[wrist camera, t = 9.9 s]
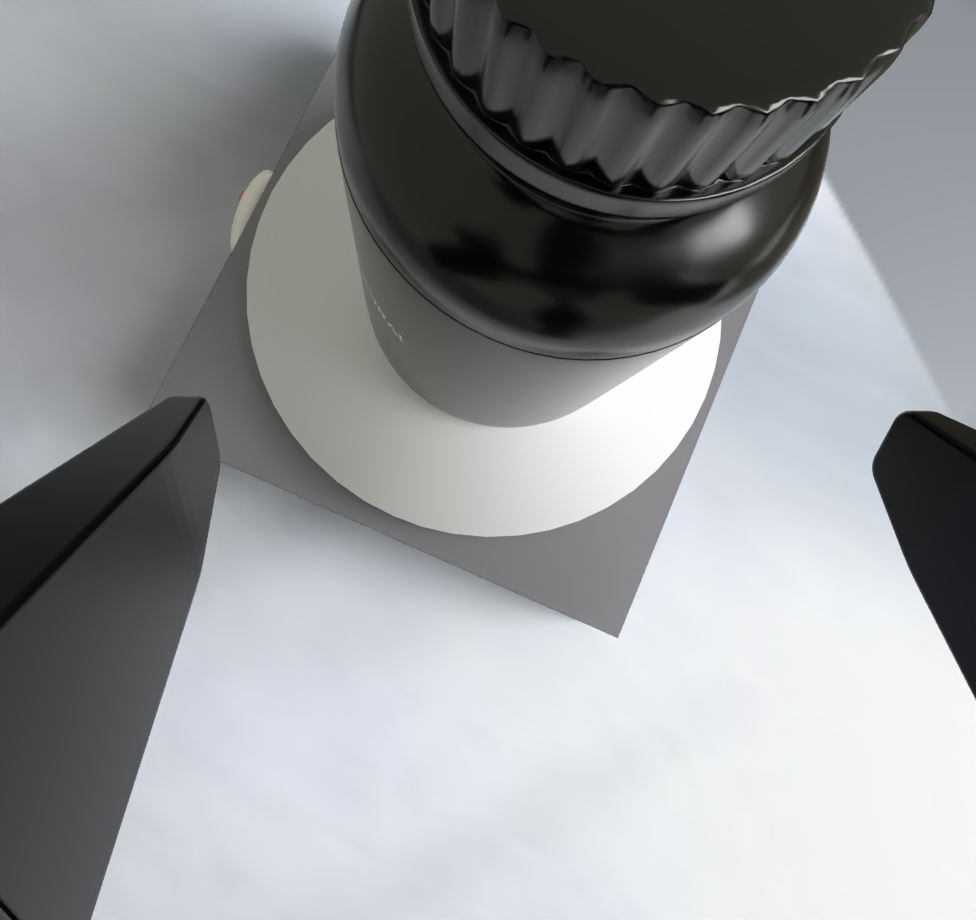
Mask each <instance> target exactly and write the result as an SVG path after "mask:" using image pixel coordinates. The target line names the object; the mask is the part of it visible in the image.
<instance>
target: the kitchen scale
mask: <svg viewBox="0 0 976 920" xmlns="http://www.w3.org/2000/svg"><path fill="white" fill-rule="evenodd" d="M336 53H337V52H336ZM335 59H336V54H335V56H334V58H333V60H332V62H331V63H330V65H329V67H328V69H327V71H326V73H325V75H324V77H323V79H322V81H321V83H320V84H319V86H318V88H317V90H316V92H315V94H314V96H313V98H312V100H311V102H310V104H309V105H308V107H307V109H306V111H305V113H304V115H303V117H302V119H301V121H300V123H299V125H298V126H297V128H296V130H295V132H294V134H293V136H292V138H291V140H290V142H289V144H288V145H287V147H286V149H285V151H284V153H283V155H282V157H281V159H280V161H279V163H278V165H277V166H276V168H275V170H274V172H273V171H271V170H264V171H262V172H260V173H259V174H258V175H257V176H256V177H255V178H254V179H253V180H252V181H251V183H250V184H249V185H248V187H247V188H246V190H245V192H242V194H241V196H240V197H239V201H240V202H239V205H238V207H237V210H236V213H235V216H234V219H233V224H232V229H231V236H230V247H231V254H230V256H229V258H228V260H227V262H226V264H225V266H224V268H223V270H222V271H221V273H220V275H219V277H218V279H217V281H216V283H215V285H214V287H213V289H212V291H211V292H210V294H209V296H208V298H207V300H206V302H205V304H204V306H203V308H202V310H201V312H200V313H199V315H198V317H197V319H196V321H195V323H194V325H193V327H192V329H191V331H190V333H189V334H188V336H187V338H186V340H185V342H184V344H183V346H182V348H181V350H180V352H179V354H178V355H177V357H176V359H175V361H174V363H173V365H172V367H171V369H170V371H169V373H168V374H167V376H166V378H165V380H164V382H163V384H162V386H161V388H160V390H159V392H158V394H157V395H156V397H155V399H154V401H153V403H152V405H151V407H150V408H152V407H154V406H155V405H157V404H158V403H160V402H161V401H163V400H165V399H166V398H168V397H170V396H201V397H204V398H205V399H206V400H207V401H208V403H209V405H210V408H211V412H212V417H213V422H214V426H215V431H216V436H217V441H218V446H219V451H220V461H221V462H223V463H225V464H228V465H230V466H232V467H234V468H237V469H239V470H241V471H243V472H246V473H248V474H250V475H252V476H255V477H257V478H259V479H261V480H264V481H266V482H268V483H270V484H272V485H275V486H277V487H279V488H281V489H284V490H286V491H288V492H290V493H293V494H295V495H297V496H299V497H302V498H304V499H306V500H308V501H311V502H313V503H315V504H317V505H320V506H322V507H324V508H326V509H329V510H331V511H333V512H335V513H338V514H340V515H342V516H344V517H347V518H349V519H351V520H353V521H356V522H358V523H360V524H362V525H365V526H367V527H369V528H371V529H374V530H376V531H378V532H380V533H383V534H385V535H387V536H389V537H392V538H394V539H396V540H398V541H401V542H403V543H405V544H407V545H410V546H412V547H414V548H416V549H419V550H421V551H423V552H425V553H428V554H430V555H432V556H434V557H437V558H439V559H441V560H443V561H446V562H448V563H450V564H452V565H455V566H457V567H459V568H461V569H464V570H466V571H468V572H470V573H473V574H475V575H477V576H479V577H482V578H484V579H486V580H488V581H491V582H493V583H495V584H497V585H500V586H502V587H504V588H506V589H509V590H511V591H513V592H515V593H518V594H520V595H522V596H524V597H527V598H529V599H531V600H533V601H536V602H538V603H540V604H542V605H545V606H547V607H549V608H551V609H554V610H556V611H558V612H560V613H563V614H565V615H567V616H569V617H572V618H574V619H576V620H578V621H581V622H583V623H585V624H587V625H590V626H592V627H594V628H596V629H599V630H601V631H603V632H605V633H607V634H610V635H612V636H614V637H616V638H618V636H619V634H620V631H621V629H622V626H623V624H624V622H625V619H626V617H627V614H628V612H629V609H630V607H631V604H632V602H633V599H634V597H635V594H636V592H637V589H638V587H639V584H640V582H641V579H642V577H643V574H644V572H645V569H646V567H647V565H648V562H649V560H650V557H651V555H652V552H653V550H654V547H655V545H656V542H657V540H658V537H659V535H660V532H661V530H662V527H663V525H664V522H665V520H666V517H667V515H668V512H669V510H670V507H671V505H672V503H673V500H674V498H675V495H676V493H677V490H678V488H679V485H680V483H681V480H682V478H683V475H684V473H685V470H686V468H687V465H688V463H689V460H690V458H691V455H692V453H693V450H694V448H695V446H696V443H697V441H698V438H699V436H700V433H701V431H702V428H703V426H704V423H705V421H706V418H707V416H708V413H709V411H710V408H711V406H712V403H713V401H714V398H715V396H716V393H717V391H718V389H719V386H720V384H721V381H722V379H723V376H724V374H725V371H726V369H727V366H728V364H729V361H730V359H731V356H732V354H733V351H734V349H735V346H736V344H737V341H738V339H739V336H740V334H741V332H742V329H743V327H744V324H745V322H746V319H747V317H748V314H749V312H750V309H751V307H752V304H753V302H754V299H755V297H756V294H757V292H758V290H757V291H756V292H754V293H753V294H752V295H751V296H750V297H749V298H748V299H747V300H746V301H744V302H743V303H742V304H741V305H740V306H738V307H737V308H736V309H734V310H733V311H732V312H731V313H729V314H728V315H726V316H725V317H724V318H722V319H721V320H720V321H718V322H717V323H716V324H714V325H713V326H711V327H710V328H708V329H707V330H705V331H704V332H702V333H700V334H699V335H697V336H696V337H694V338H692V339H691V340H689V341H688V342H686V343H685V344H683V345H681V346H680V347H678V348H677V349H675V350H673V351H672V352H670V353H669V354H667V355H665V356H664V357H662V358H661V359H659V360H658V361H656V362H654V363H653V364H651V365H650V366H648V367H646V368H645V369H643V370H642V371H640V372H638V373H637V374H635V375H634V376H632V377H631V378H629V379H627V380H626V381H624V382H623V383H621V384H619V385H618V386H616V387H615V388H613V389H611V390H610V391H608V392H607V393H605V394H604V395H602V396H600V397H599V398H597V399H596V400H594V401H592V402H591V403H589V404H587V405H585V406H584V407H582V408H580V409H578V410H576V411H575V412H572V413H570V414H568V415H566V416H564V417H562V418H559V419H556V420H553V421H550V422H546V423H542V424H538V425H534V426H526V427H514V428H503V427H491V426H485V425H479V424H475V423H472V422H468V421H465V420H462V419H459V418H457V417H454V416H452V415H450V414H448V413H446V412H444V411H441V410H440V409H438V408H436V407H435V406H433V405H432V404H430V403H428V402H427V401H426V400H424V399H423V398H422V397H421V396H419V395H418V394H417V393H416V392H415V391H414V390H412V389H411V388H410V387H409V386H408V385H407V384H406V383H405V382H404V380H403V379H402V378H401V377H400V376H399V375H398V374H397V372H396V371H395V370H394V368H393V367H392V365H391V364H390V362H389V361H388V359H387V357H386V356H385V354H384V352H383V351H382V349H381V347H380V344H379V342H378V340H377V338H376V336H375V333H374V330H373V327H372V324H371V320H370V316H369V313H368V308H367V304H366V300H365V295H364V290H363V284H362V279H361V274H360V268H359V263H358V257H357V252H356V246H355V241H354V236H353V230H352V225H351V219H350V214H349V208H348V203H347V198H346V192H345V187H344V181H343V176H342V170H341V165H340V159H339V153H338V145H337V138H336V131H335V119H334V95H333V82H334V68H335Z"/></svg>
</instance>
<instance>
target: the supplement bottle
mask: <svg viewBox="0 0 976 920" xmlns="http://www.w3.org/2000/svg"><path fill="white" fill-rule="evenodd" d="M934 1H935V0H351V2H350V4H349V7H348V9H347V12H346V16H345V19H344V22H343V26H342V29H341V33H340V37H339V42H338V47H337V53H336V59H335V68H334V82H333V95H334V119H335V131H336V138H337V145H338V153H339V159H340V165H341V170H342V176H343V181H344V187H345V192H346V198H347V203H348V208H349V214H350V219H351V225H352V230H353V236H354V241H355V246H356V252H357V257H358V263H359V268H360V274H361V279H362V284H363V290H364V295H365V300H366V304H367V308H368V313H369V316H370V320H371V324H372V327H373V330H374V333H375V336H376V338H377V340H378V342H379V344H380V347H381V349H382V351H383V352H384V354H385V356H386V357H387V359H388V361H389V362H390V364H391V365H392V367H393V368H394V370H395V371H396V372H397V374H398V375H399V376H400V377H401V378H402V379H403V380H404V382H405V383H406V384H407V385H408V386H409V387H410V388H411V389H412V390H414V391H415V392H416V393H417V394H418V395H419V396H421V397H422V398H423V399H424V400H426V401H427V402H428V403H430V404H432V405H433V406H435V407H436V408H438V409H440V410H441V411H444V412H446V413H448V414H450V415H452V416H454V417H457V418H459V419H462V420H465V421H468V422H472V423H475V424H479V425H485V426H491V427H503V428H514V427H526V426H534V425H538V424H542V423H546V422H550V421H553V420H556V419H559V418H562V417H564V416H566V415H568V414H570V413H572V412H575V411H576V410H578V409H580V408H582V407H584V406H585V405H587V404H589V403H591V402H592V401H594V400H596V399H597V398H599V397H600V396H602V395H604V394H605V393H607V392H608V391H610V390H611V389H613V388H615V387H616V386H618V385H619V384H621V383H623V382H624V381H626V380H627V379H629V378H631V377H632V376H634V375H635V374H637V373H638V372H640V371H642V370H643V369H645V368H646V367H648V366H650V365H651V364H653V363H654V362H656V361H658V360H659V359H661V358H662V357H664V356H665V355H667V354H669V353H670V352H672V351H673V350H675V349H677V348H678V347H680V346H681V345H683V344H685V343H686V342H688V341H689V340H691V339H692V338H694V337H696V336H697V335H699V334H700V333H702V332H704V331H705V330H707V329H708V328H710V327H711V326H713V325H714V324H716V323H717V322H718V321H720V320H721V319H722V318H724V317H725V316H726V315H728V314H729V313H731V312H732V311H733V310H734V309H736V308H737V307H738V306H740V305H741V304H742V303H743V302H744V301H746V300H747V299H748V298H749V297H750V296H751V295H752V294H753V293H754V292H756V291H757V290H758V289H759V288H760V287H761V286H762V285H763V284H764V283H765V282H766V281H767V280H768V278H769V277H770V276H771V275H772V274H773V273H774V272H775V271H776V269H777V268H778V267H779V266H780V264H781V263H782V261H783V260H784V259H785V257H786V256H787V254H788V253H789V251H790V250H791V249H792V247H793V246H794V244H795V242H796V241H797V239H798V237H799V235H800V233H801V232H802V230H803V228H804V226H805V224H806V222H807V220H808V217H809V215H810V213H811V210H812V208H813V206H814V203H815V201H816V198H817V195H818V192H819V189H820V185H821V182H822V179H823V175H824V171H825V166H826V161H827V156H828V152H829V144H830V134H831V128H832V126H833V125H834V124H835V122H836V121H837V120H838V118H839V117H840V115H841V114H842V112H843V111H844V110H845V109H846V108H847V107H848V106H849V105H850V104H851V103H852V102H853V101H854V100H855V99H856V98H858V97H859V96H860V95H861V94H862V93H863V92H864V91H865V90H866V89H867V88H868V87H869V86H870V85H872V84H873V83H874V82H875V81H876V80H877V79H878V78H879V77H880V76H881V75H882V74H883V73H884V72H885V71H886V70H887V69H888V68H889V67H890V66H891V65H892V63H893V62H894V61H895V59H896V58H897V57H898V55H899V54H900V52H901V51H902V49H903V47H904V45H905V44H906V43H907V42H908V41H909V40H910V39H911V38H912V37H913V36H914V35H915V34H916V33H917V32H918V31H919V30H920V28H921V27H922V26H923V25H924V23H925V22H926V21H927V19H928V18H929V17H930V15H931V13H932V10H933V5H934Z"/></svg>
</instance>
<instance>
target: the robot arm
mask: <svg viewBox="0 0 976 920" xmlns="http://www.w3.org/2000/svg"><path fill="white" fill-rule="evenodd" d="M219 469H220V451H219V446H218V441H217V436H216V431H215V426H214V422H213V417H212V412H211V408H210V405H209V403H208V401H207V400H206V399H205V398H204V397H201V396H170V397H168V398H166V399H165V400H163V401H161V402H160V403H158V404H157V405H155V406H154V407H152V408H150V409H149V410H147V411H146V412H144V413H142V414H141V415H139V416H138V417H136V418H135V419H133V420H131V421H130V422H128V423H127V424H125V425H123V426H122V427H120V428H119V429H117V430H116V431H114V432H112V433H111V434H109V435H108V436H106V437H105V438H103V439H101V440H100V441H98V442H97V443H95V444H93V445H92V446H90V447H89V448H87V449H86V450H84V451H82V452H81V453H79V454H78V455H76V456H74V457H73V458H71V459H70V460H68V461H67V462H65V463H63V464H62V465H60V466H59V467H57V468H56V469H54V470H52V471H51V472H49V473H48V474H46V475H44V476H43V477H41V478H40V479H38V480H37V481H35V482H33V483H32V484H30V485H29V486H27V487H25V488H24V489H22V490H21V491H19V492H18V493H16V494H14V495H13V496H11V497H10V498H8V499H7V500H5V501H3V502H2V503H0V920H91V917H92V914H93V911H94V908H95V905H96V902H97V899H98V895H99V892H100V889H101V886H102V883H103V880H104V877H105V873H106V870H107V867H108V864H109V861H110V858H111V855H112V852H113V848H114V845H115V842H116V839H117V836H118V833H119V830H120V826H121V823H122V820H123V817H124V814H125V811H126V808H127V804H128V801H129V798H130V795H131V792H132V789H133V786H134V782H135V779H136V776H137V773H138V770H139V767H140V764H141V761H142V757H143V754H144V751H145V748H146V745H147V742H148V739H149V735H150V732H151V729H152V726H153V723H154V720H155V717H156V713H157V710H158V707H159V704H160V701H161V698H162V695H163V691H164V688H165V685H166V682H167V679H168V676H169V673H170V670H171V666H172V663H173V660H174V657H175V654H176V651H177V648H178V644H179V641H180V638H181V635H182V632H183V629H184V626H185V622H186V619H187V616H188V613H189V610H190V607H191V604H192V600H193V597H194V594H195V591H196V588H197V584H198V581H199V577H200V574H201V569H202V564H203V559H204V554H205V548H206V543H207V537H208V532H209V526H210V520H211V515H212V509H213V504H214V498H215V492H216V487H217V481H218V476H219ZM872 471H873V476H874V479H875V482H876V485H877V487H878V490H879V493H880V495H881V498H882V500H883V503H884V506H885V508H886V511H887V513H888V516H889V519H890V521H891V524H892V526H893V529H894V532H895V534H896V537H897V539H898V542H899V545H900V547H901V550H902V553H903V555H904V557H905V560H906V562H907V565H908V567H909V569H910V572H911V574H912V576H913V578H914V580H915V582H916V584H917V586H918V588H919V590H920V592H921V594H922V596H923V598H924V600H925V602H926V604H927V606H928V608H929V609H930V611H931V613H932V615H933V617H934V619H935V621H936V623H937V625H938V627H939V629H940V631H941V633H942V635H943V637H944V639H945V641H946V643H947V645H948V647H949V649H950V651H951V652H952V654H953V656H954V658H955V660H956V662H957V664H958V666H959V668H960V670H961V672H962V674H963V676H964V678H965V680H966V682H967V684H968V686H969V688H970V690H971V692H972V694H973V695H974V697H975V699H976V430H975V429H973V428H971V427H968V426H966V425H964V424H962V423H960V422H958V421H955V420H953V419H951V418H949V417H947V416H944V415H942V414H940V413H937V412H933V411H905V412H903V413H901V414H900V415H898V416H897V417H896V419H895V420H894V422H893V424H892V425H891V427H890V429H889V431H888V433H887V435H886V437H885V438H884V440H883V442H882V444H881V446H880V448H879V450H878V451H877V453H876V455H875V457H874V460H873V465H872Z"/></svg>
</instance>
